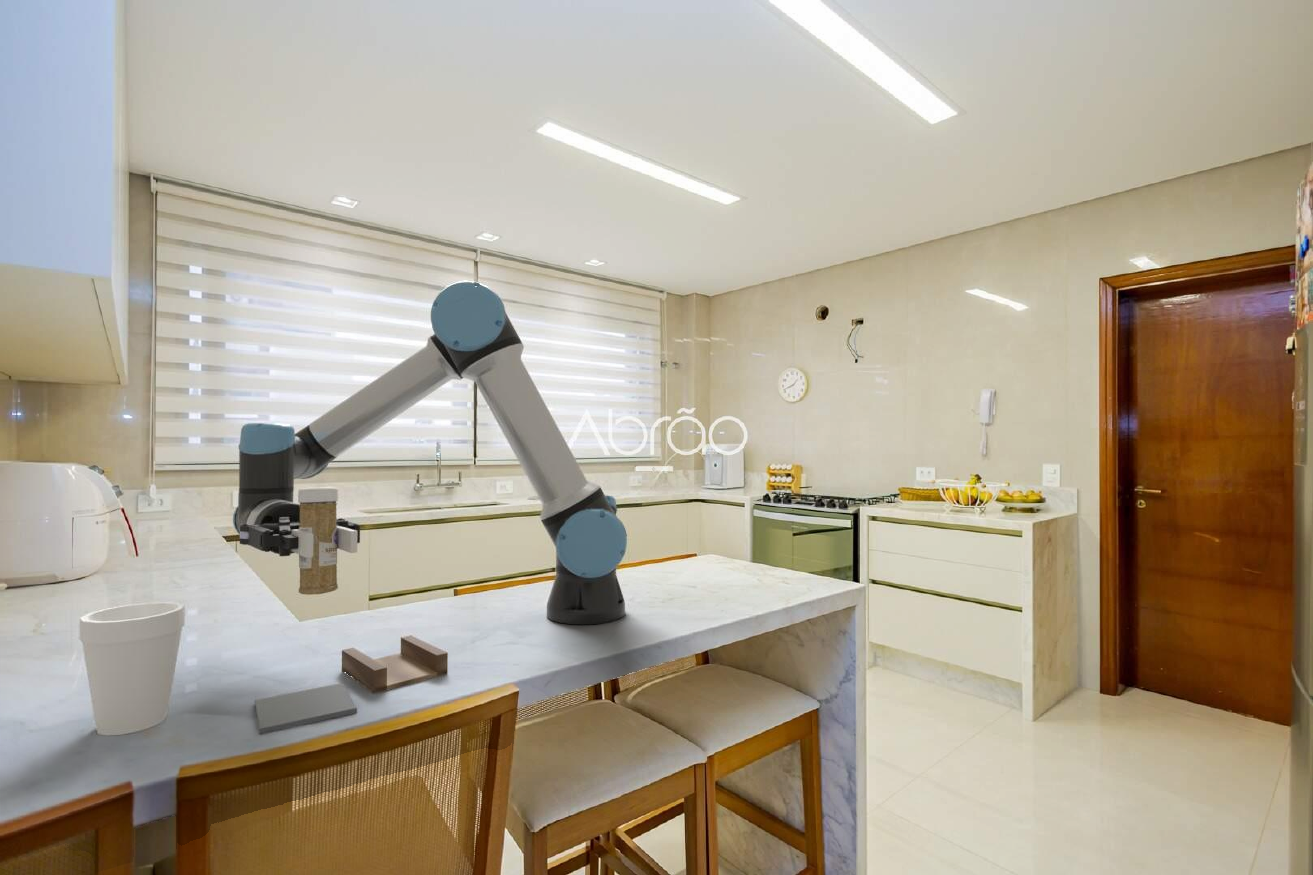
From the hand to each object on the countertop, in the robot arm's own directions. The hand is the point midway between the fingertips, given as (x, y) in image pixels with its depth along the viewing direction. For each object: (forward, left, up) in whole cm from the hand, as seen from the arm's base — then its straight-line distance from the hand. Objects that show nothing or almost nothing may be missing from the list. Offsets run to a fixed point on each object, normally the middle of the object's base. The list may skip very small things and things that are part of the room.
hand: (332, 543), depth 77 cm
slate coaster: (+2, -3, -20) cm, 21 cm away
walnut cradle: (-10, -10, -20) cm, 25 cm away
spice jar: (+1, -5, -7) cm, 9 cm away
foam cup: (+19, -10, -21) cm, 30 cm away
